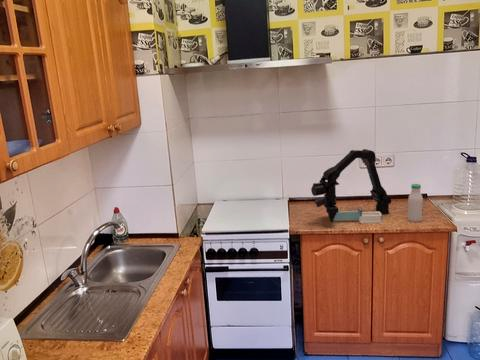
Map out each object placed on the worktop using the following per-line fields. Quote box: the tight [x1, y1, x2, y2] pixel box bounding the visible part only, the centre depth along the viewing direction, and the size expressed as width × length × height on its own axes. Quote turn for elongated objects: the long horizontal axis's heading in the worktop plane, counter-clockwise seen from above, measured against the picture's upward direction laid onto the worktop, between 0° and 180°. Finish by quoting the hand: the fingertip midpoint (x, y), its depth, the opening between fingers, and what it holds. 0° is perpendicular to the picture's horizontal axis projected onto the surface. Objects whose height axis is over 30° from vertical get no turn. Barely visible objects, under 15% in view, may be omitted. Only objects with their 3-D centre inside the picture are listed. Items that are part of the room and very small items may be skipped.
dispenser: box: [357, 206, 384, 224], centre depth 235 cm, size 12×8×7 cm
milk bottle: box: [407, 183, 424, 223], centre depth 230 cm, size 8×8×20 cm
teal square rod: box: [333, 210, 359, 221], centre depth 236 cm, size 16×2×4 cm, turn 85°
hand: (330, 219), depth 237 cm, fingers open, 6 cm apart
